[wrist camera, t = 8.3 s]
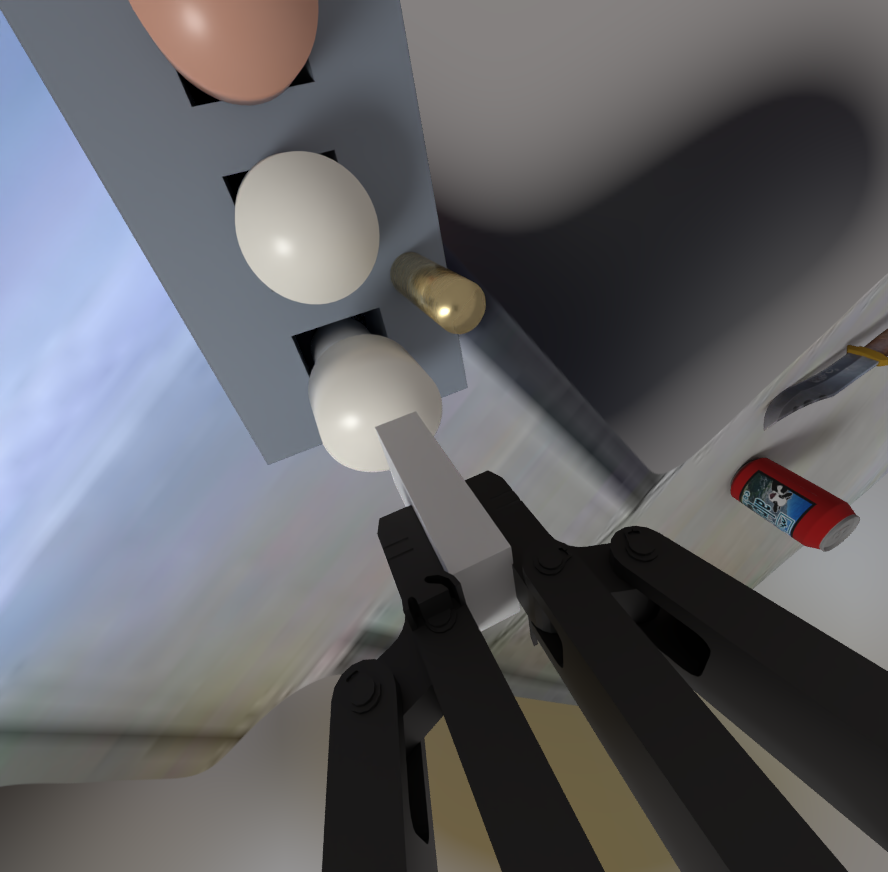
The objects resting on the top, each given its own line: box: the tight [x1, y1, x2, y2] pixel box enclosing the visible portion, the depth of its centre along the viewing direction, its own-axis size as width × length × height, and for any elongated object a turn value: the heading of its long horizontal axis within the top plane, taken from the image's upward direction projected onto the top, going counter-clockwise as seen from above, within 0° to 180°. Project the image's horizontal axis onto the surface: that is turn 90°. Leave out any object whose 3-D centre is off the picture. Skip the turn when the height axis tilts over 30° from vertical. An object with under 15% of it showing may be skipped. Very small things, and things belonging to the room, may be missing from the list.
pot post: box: [390, 252, 486, 334], centre depth 18 cm, size 2×2×6 cm
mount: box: [0, 0, 468, 465], centre depth 20 cm, size 12×21×6 cm, turn 11°
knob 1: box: [129, 0, 318, 106], centre depth 15 cm, size 5×5×8 cm
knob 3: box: [308, 318, 442, 472], centre depth 20 cm, size 5×5×8 cm
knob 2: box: [235, 151, 380, 304], centre depth 18 cm, size 5×5×8 cm
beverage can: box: [731, 458, 860, 551], centre depth 54 cm, size 7×7×12 cm
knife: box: [764, 329, 888, 431], centre depth 49 cm, size 25×1×5 cm, turn 121°
